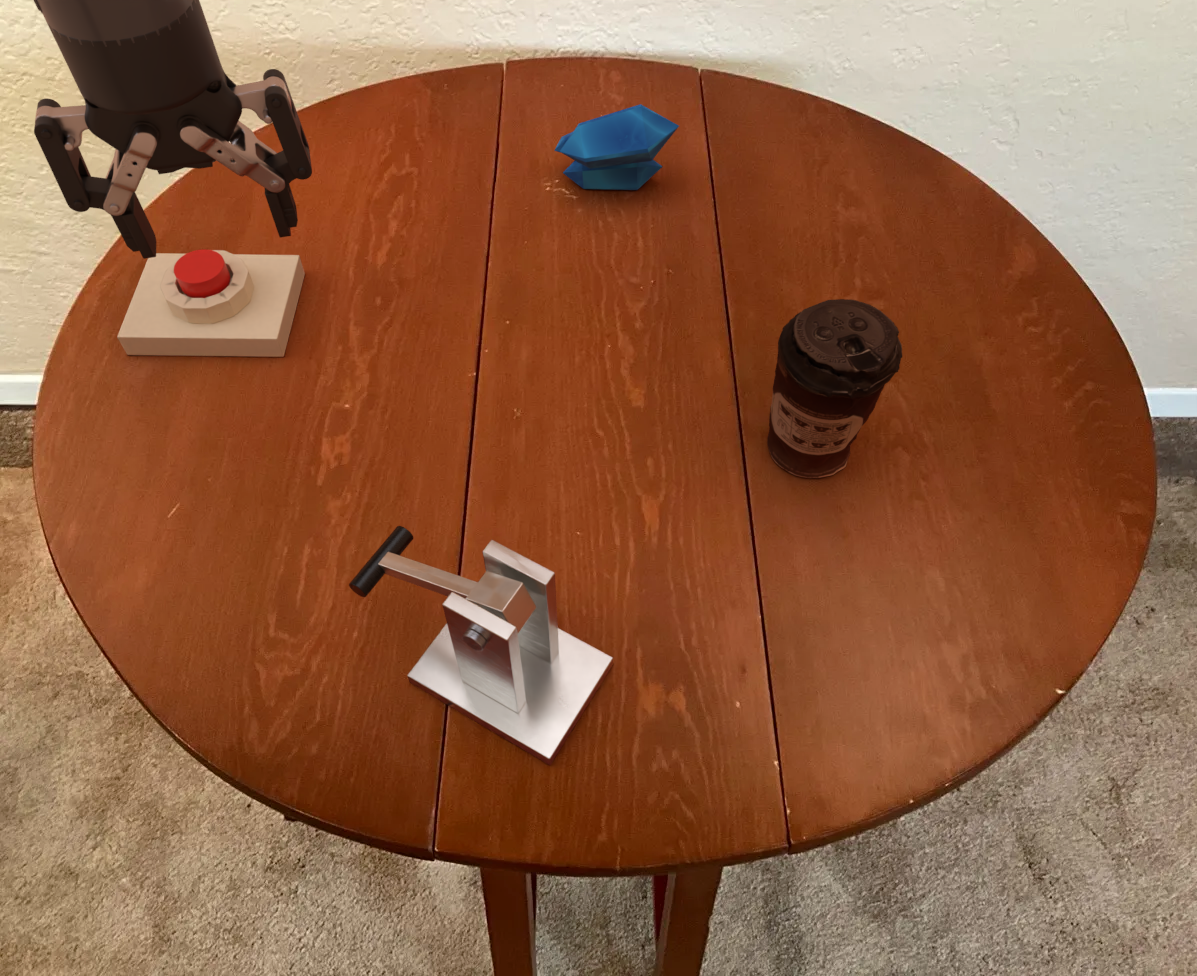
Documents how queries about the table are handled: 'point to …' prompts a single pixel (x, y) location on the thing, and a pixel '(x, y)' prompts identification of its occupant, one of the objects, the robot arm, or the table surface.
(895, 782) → the table surface
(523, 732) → the bracket
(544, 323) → the table surface
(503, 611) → the lever
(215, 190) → the table surface
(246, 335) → the button box
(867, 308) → the coffee cup
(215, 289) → the button
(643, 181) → the crystal
